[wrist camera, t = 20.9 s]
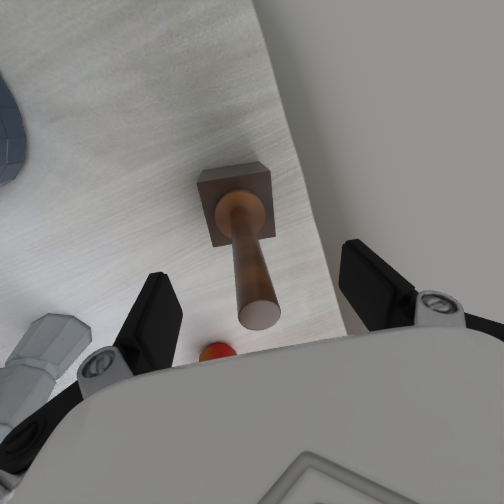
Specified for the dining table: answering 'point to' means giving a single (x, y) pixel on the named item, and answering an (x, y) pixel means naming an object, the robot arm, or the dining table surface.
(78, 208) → the dining table surface
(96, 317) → the dining table surface
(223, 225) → the wooden plunger
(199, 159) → the dining table surface
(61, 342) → the coffee maker
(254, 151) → the dining table surface
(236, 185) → the rest
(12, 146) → the bowl
